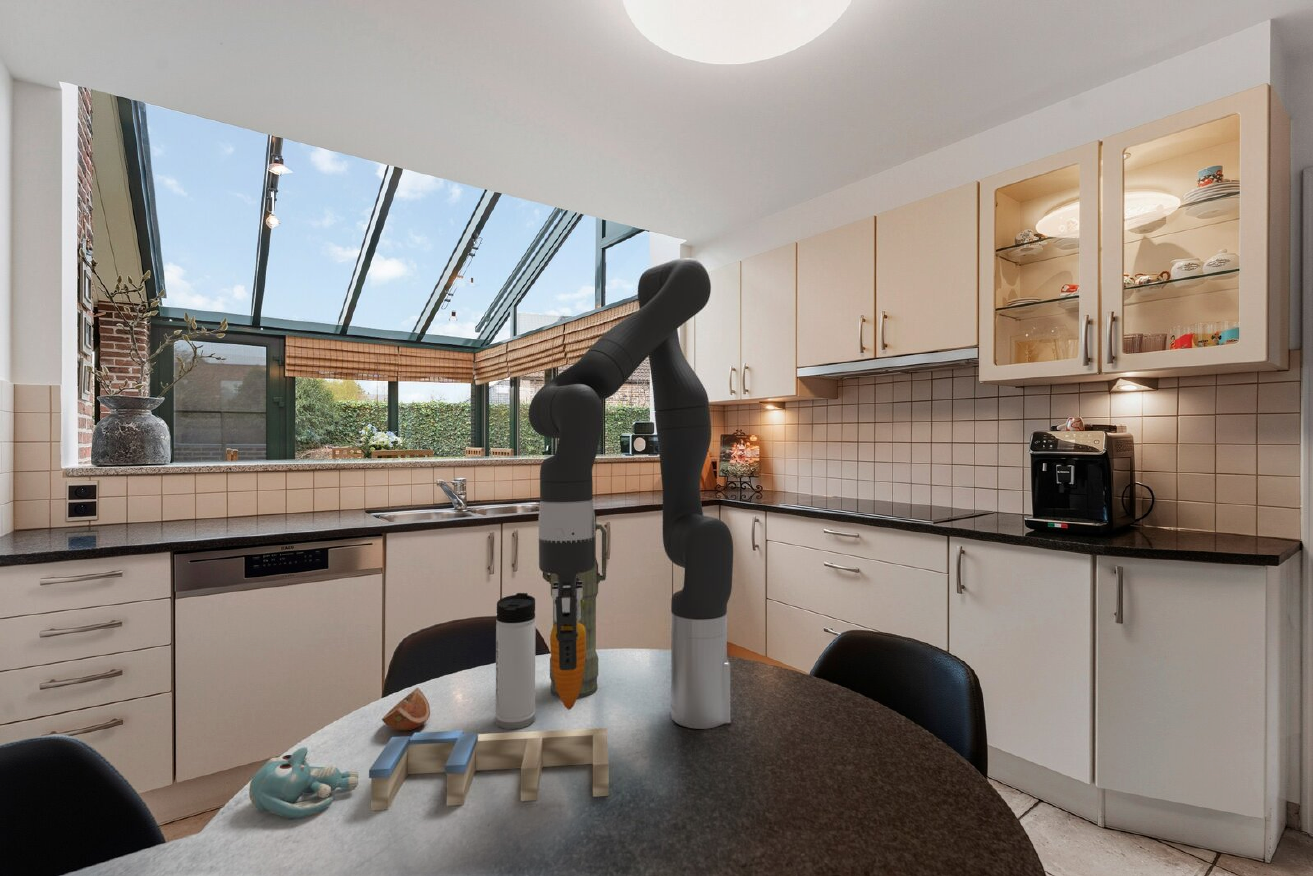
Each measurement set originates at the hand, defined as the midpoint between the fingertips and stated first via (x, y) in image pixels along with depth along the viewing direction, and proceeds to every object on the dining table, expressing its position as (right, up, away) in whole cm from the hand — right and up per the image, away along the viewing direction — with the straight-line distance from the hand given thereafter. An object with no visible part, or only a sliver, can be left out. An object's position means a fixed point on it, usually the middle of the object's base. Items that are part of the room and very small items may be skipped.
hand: (568, 661), depth 80 cm
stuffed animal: (-32, -16, -5) cm, 37 cm away
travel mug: (-11, -16, +18) cm, 27 cm away
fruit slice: (-28, -16, +15) cm, 36 cm away
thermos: (-4, -17, +30) cm, 35 cm away
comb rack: (-9, -16, -1) cm, 18 cm away
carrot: (0, -7, 0) cm, 7 cm away
